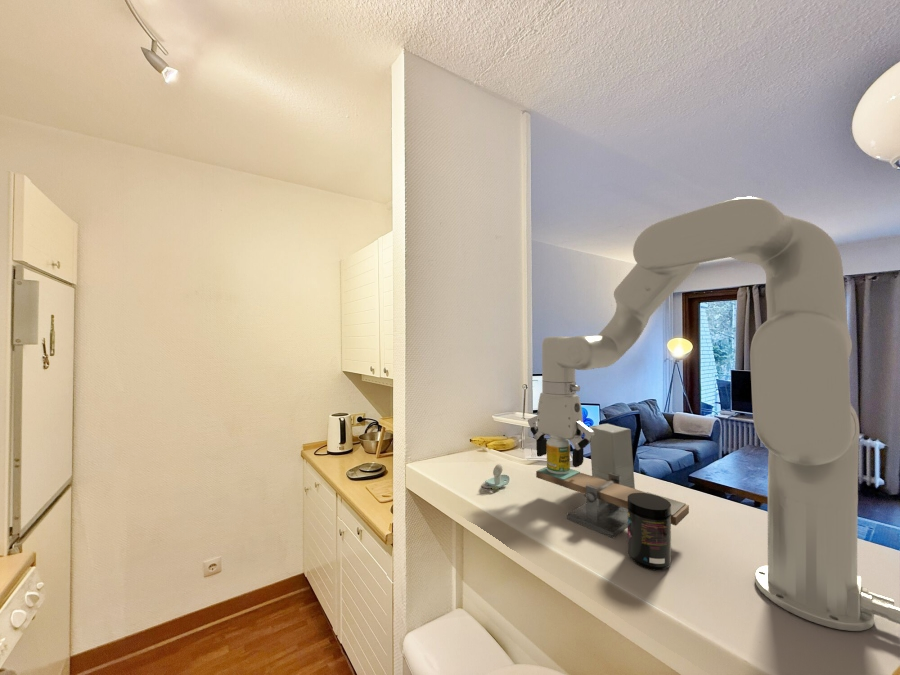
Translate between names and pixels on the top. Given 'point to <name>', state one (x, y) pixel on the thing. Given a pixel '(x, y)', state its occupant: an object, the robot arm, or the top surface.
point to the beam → (607, 490)
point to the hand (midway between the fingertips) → (558, 460)
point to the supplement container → (649, 530)
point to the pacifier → (497, 479)
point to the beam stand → (600, 512)
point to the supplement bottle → (558, 455)
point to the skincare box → (612, 453)
